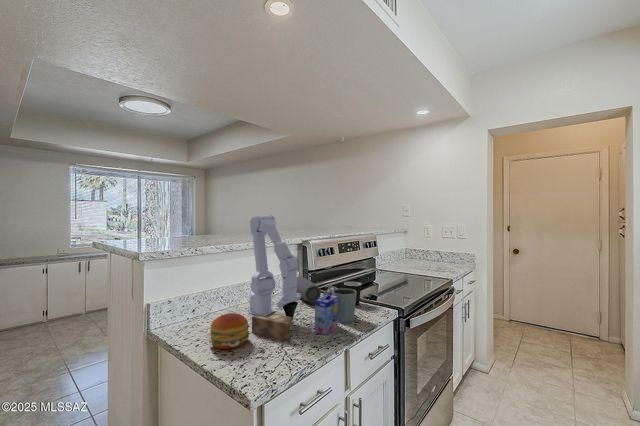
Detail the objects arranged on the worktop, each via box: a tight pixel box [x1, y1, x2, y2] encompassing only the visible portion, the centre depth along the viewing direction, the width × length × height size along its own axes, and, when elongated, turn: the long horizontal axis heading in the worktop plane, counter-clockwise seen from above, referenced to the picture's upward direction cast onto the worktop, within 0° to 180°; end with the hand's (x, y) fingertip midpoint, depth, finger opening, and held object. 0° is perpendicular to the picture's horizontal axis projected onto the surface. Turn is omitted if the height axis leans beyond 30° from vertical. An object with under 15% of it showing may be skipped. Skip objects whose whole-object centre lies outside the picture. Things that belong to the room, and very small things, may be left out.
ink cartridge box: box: [314, 292, 339, 336], centre depth 114 cm, size 10×6×14 cm, turn 149°
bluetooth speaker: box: [297, 276, 322, 303], centre depth 154 cm, size 23×9×10 cm, turn 23°
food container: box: [322, 285, 339, 297], centre depth 135 cm, size 12×6×10 cm, turn 168°
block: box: [267, 313, 293, 331], centre depth 113 cm, size 8×7×5 cm
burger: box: [208, 312, 250, 350], centre depth 103 cm, size 13×14×10 cm
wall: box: [251, 314, 291, 342], centre depth 109 cm, size 16×2×6 cm, turn 62°
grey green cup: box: [332, 287, 357, 324], centre depth 125 cm, size 10×10×12 cm
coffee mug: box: [336, 281, 362, 307], centre depth 146 cm, size 12×9×10 cm
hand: (289, 320), depth 120 cm, fingers closed
